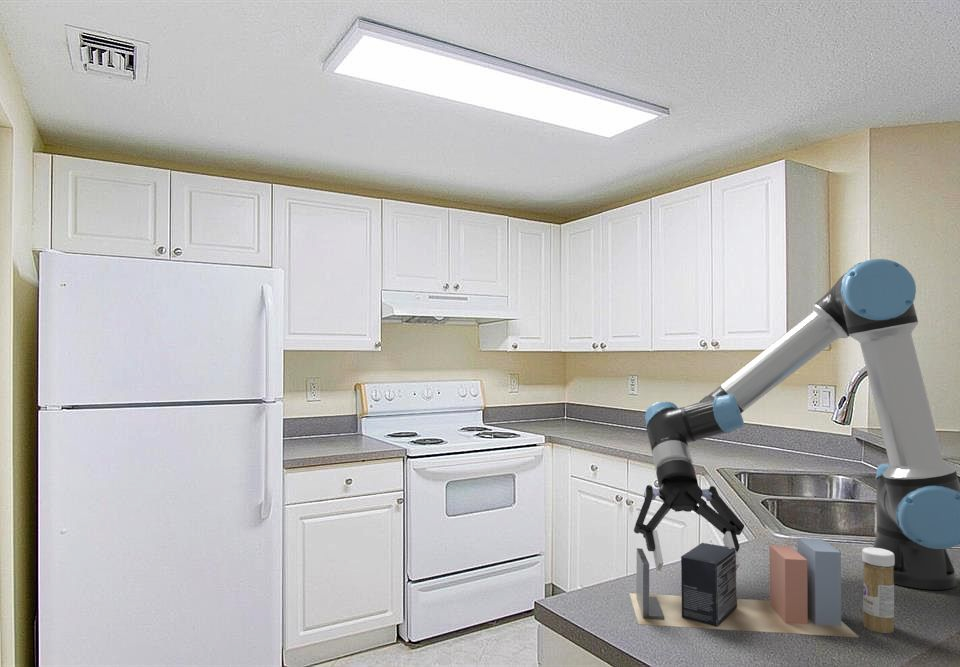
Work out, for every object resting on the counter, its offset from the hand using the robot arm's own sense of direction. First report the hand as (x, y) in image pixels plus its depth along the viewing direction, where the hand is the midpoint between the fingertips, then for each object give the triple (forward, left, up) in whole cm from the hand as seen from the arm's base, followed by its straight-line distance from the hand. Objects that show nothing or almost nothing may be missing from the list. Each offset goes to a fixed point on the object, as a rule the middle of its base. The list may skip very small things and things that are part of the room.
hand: (697, 567), depth 117 cm
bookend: (+9, +5, -6) cm, 12 cm away
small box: (-1, +5, -6) cm, 8 cm away
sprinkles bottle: (-27, +7, -7) cm, 29 cm away
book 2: (-19, +4, -6) cm, 20 cm away
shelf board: (-5, +5, -7) cm, 10 cm away
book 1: (-14, +4, -6) cm, 16 cm away
